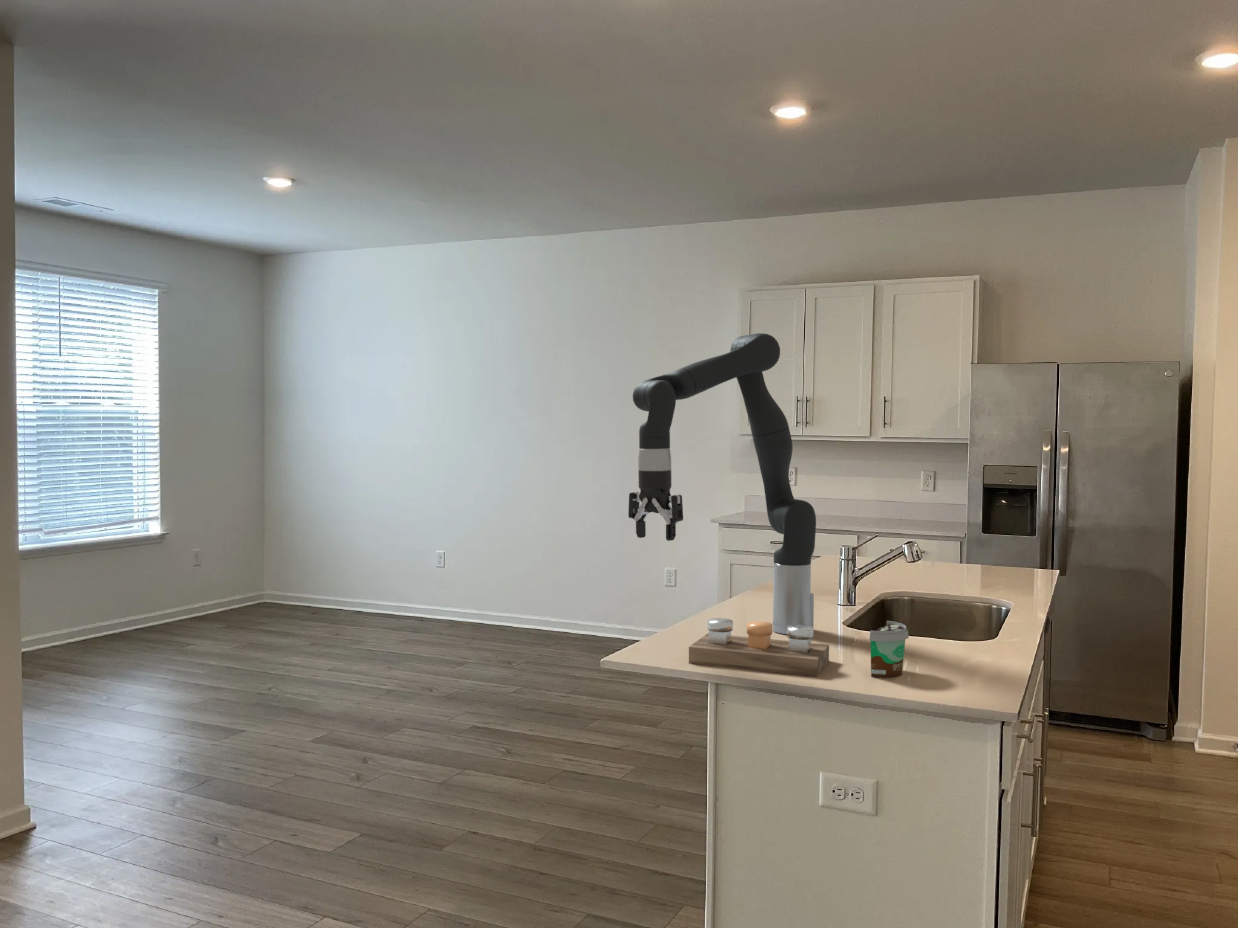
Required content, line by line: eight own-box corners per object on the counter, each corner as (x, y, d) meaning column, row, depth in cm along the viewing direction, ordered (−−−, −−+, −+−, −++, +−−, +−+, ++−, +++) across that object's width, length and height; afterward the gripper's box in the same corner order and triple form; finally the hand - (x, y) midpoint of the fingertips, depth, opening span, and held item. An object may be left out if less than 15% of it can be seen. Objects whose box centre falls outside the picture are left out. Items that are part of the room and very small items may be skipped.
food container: (898, 682, 199) (899, 634, 199) (868, 678, 202) (869, 630, 202) (915, 669, 210) (915, 623, 209) (886, 665, 213) (887, 619, 212)
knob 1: (711, 638, 222) (711, 617, 222) (735, 641, 220) (735, 619, 220) (704, 644, 217) (704, 621, 217) (728, 646, 215) (728, 624, 215)
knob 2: (790, 646, 215) (790, 623, 215) (815, 648, 213) (815, 626, 213) (784, 652, 210) (784, 629, 210) (810, 654, 208) (810, 631, 208)
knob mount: (707, 648, 227) (707, 633, 227) (828, 660, 217) (829, 644, 216) (688, 662, 214) (688, 646, 214) (816, 676, 204) (816, 659, 203)
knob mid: (750, 642, 219) (750, 620, 219) (774, 644, 217) (775, 622, 216) (743, 648, 214) (743, 625, 213) (768, 650, 212) (769, 627, 211)
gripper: (689, 468, 221) (690, 539, 222) (641, 466, 230) (642, 534, 231) (669, 470, 215) (669, 543, 216) (620, 468, 225) (621, 538, 226)
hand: (655, 538), depth 224 cm, fingers open, 8 cm apart
